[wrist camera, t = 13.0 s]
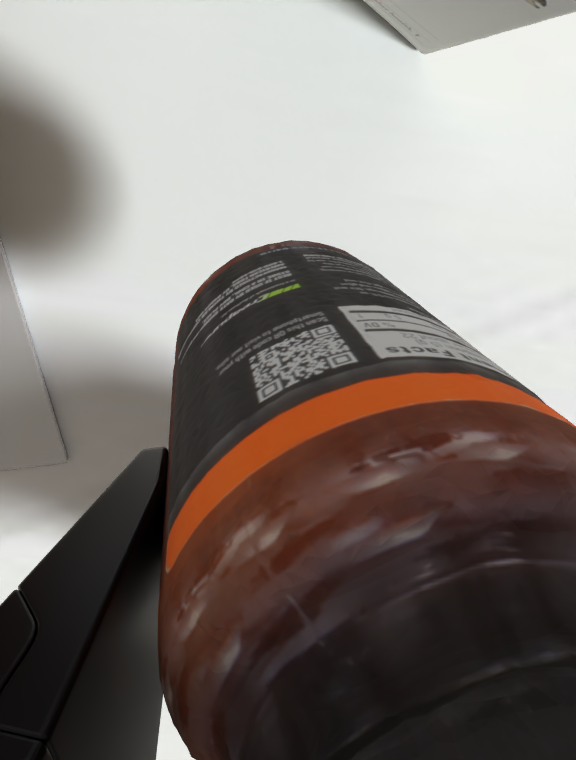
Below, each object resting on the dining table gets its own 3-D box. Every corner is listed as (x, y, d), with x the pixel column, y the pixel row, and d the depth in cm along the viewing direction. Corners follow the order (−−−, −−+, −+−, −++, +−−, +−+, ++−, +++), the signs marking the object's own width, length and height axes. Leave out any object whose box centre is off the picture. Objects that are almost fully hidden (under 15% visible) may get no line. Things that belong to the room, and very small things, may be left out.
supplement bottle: (303, 471, 15) (511, 1136, 5) (129, 374, 13) (-104, 1279, 3) (439, 321, 13) (1121, 872, 4) (270, 178, 11) (936, 667, 1)
